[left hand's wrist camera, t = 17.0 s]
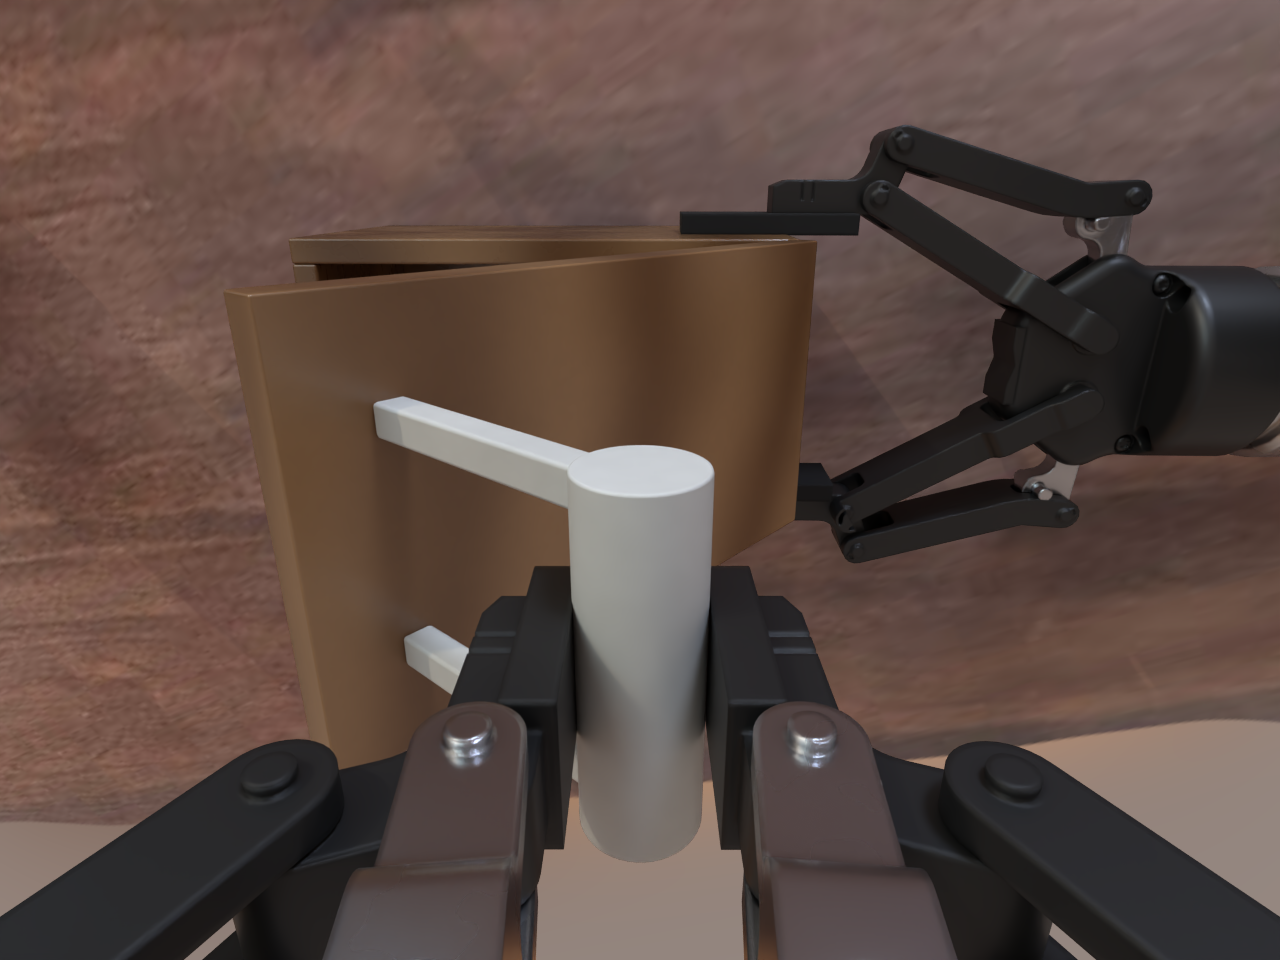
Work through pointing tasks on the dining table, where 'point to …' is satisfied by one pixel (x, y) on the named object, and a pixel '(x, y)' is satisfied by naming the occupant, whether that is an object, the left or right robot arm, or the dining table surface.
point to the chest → (481, 247)
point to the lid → (528, 488)
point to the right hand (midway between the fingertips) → (677, 359)
